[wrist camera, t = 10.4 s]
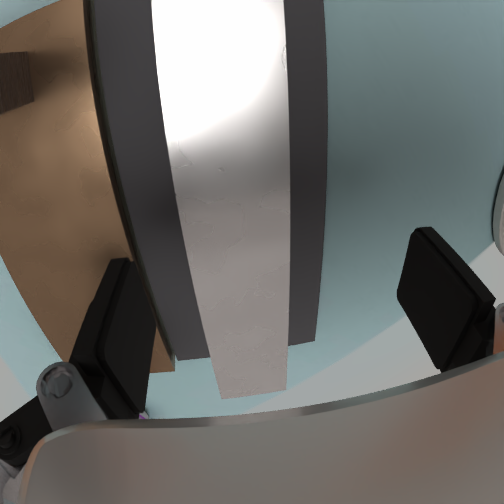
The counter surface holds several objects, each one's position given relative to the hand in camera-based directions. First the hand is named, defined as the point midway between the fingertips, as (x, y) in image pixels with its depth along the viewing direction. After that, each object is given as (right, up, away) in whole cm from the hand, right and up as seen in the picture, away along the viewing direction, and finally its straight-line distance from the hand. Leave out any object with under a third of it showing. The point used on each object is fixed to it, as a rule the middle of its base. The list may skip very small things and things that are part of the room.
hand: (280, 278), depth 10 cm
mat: (-2, +3, +5) cm, 7 cm away
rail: (-2, +3, +5) cm, 6 cm away
